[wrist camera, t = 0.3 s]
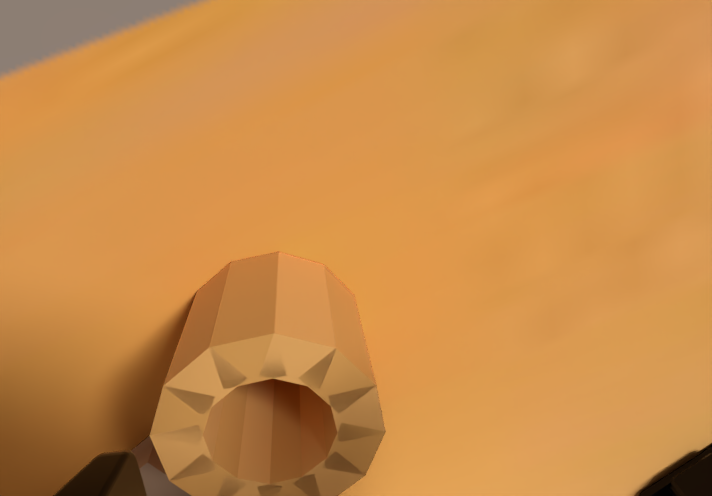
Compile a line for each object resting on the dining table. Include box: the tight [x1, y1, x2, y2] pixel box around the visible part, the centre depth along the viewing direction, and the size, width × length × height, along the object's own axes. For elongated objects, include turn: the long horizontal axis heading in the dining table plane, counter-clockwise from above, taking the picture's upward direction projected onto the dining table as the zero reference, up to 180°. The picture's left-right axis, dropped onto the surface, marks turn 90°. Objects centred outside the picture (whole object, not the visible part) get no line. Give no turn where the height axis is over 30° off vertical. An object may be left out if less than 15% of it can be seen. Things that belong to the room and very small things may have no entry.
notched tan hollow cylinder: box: [149, 252, 386, 496], centre depth 19 cm, size 7×7×6 cm
